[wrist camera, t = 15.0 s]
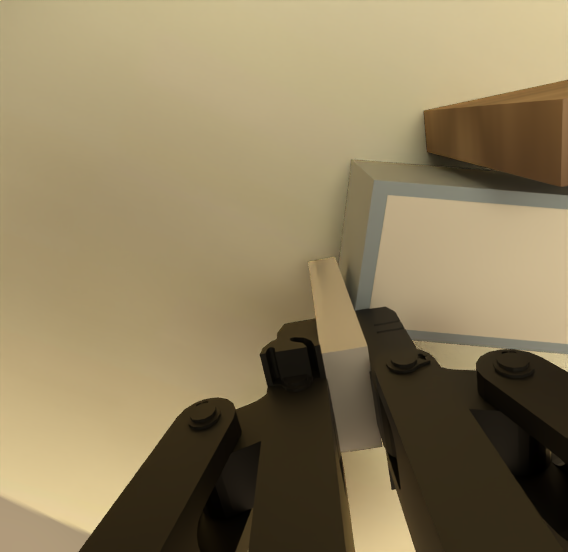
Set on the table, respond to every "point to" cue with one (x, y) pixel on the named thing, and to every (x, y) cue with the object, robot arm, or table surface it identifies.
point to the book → (459, 254)
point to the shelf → (507, 132)
